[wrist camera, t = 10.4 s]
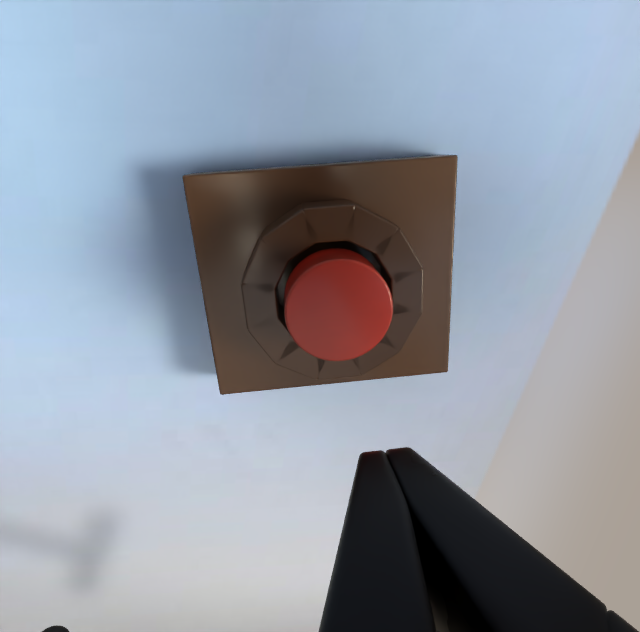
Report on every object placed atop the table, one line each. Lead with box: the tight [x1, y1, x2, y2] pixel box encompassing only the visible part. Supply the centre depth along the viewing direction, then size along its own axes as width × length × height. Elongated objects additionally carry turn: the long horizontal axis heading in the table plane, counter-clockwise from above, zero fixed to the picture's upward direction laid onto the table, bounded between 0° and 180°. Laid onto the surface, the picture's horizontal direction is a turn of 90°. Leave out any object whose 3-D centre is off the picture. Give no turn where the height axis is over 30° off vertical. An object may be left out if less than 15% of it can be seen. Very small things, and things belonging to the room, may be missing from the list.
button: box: [284, 248, 393, 361], centre depth 15 cm, size 4×4×2 cm
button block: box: [182, 155, 457, 394], centre depth 17 cm, size 10×9×4 cm
